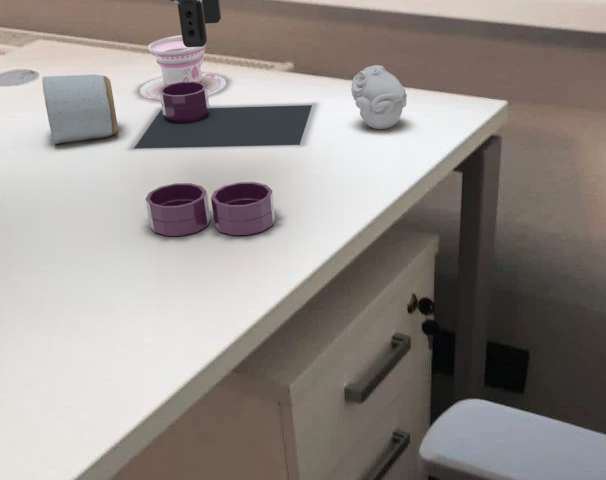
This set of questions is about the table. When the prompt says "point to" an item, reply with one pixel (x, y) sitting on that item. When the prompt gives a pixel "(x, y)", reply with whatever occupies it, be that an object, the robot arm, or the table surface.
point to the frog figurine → (378, 97)
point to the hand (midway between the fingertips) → (203, 33)
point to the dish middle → (178, 209)
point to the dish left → (184, 101)
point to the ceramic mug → (79, 107)
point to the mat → (230, 128)
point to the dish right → (243, 208)
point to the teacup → (178, 64)
